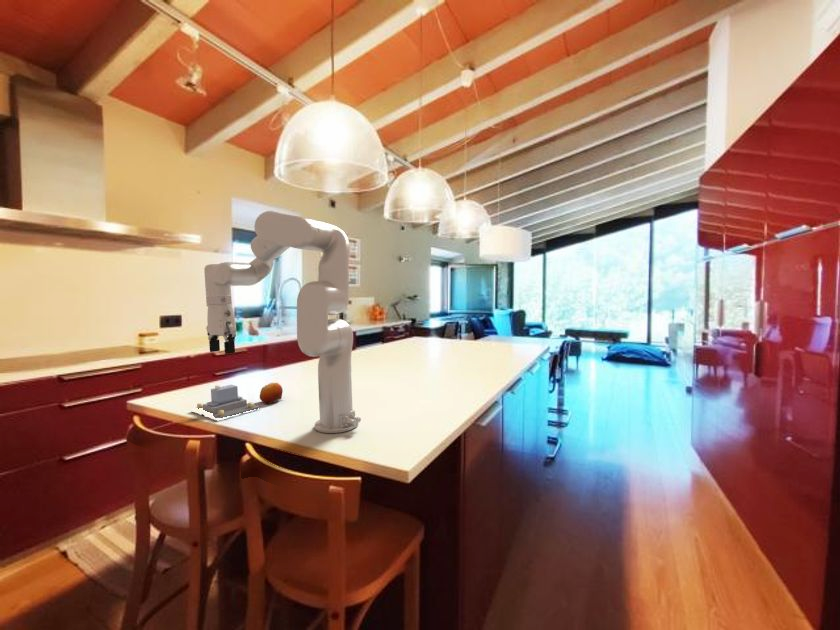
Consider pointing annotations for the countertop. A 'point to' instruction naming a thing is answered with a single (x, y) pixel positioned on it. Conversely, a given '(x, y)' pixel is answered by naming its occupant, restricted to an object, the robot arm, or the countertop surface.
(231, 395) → the servo
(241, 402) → the chassis
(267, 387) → the fruit
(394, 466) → the countertop surface
